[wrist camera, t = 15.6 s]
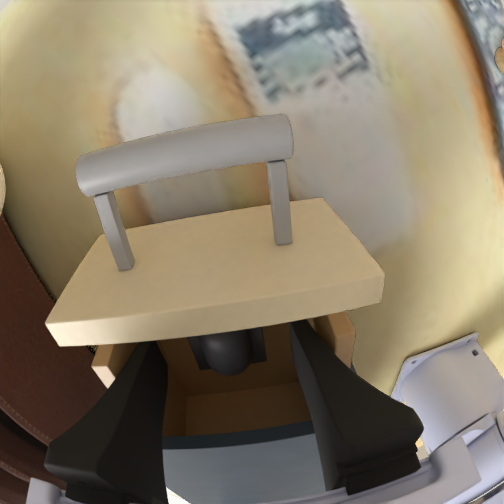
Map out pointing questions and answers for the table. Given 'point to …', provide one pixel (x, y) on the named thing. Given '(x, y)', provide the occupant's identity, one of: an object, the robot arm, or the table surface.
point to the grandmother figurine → (500, 57)
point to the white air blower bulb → (2, 189)
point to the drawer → (214, 277)
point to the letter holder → (34, 376)
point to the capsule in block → (229, 350)
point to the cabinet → (245, 465)
